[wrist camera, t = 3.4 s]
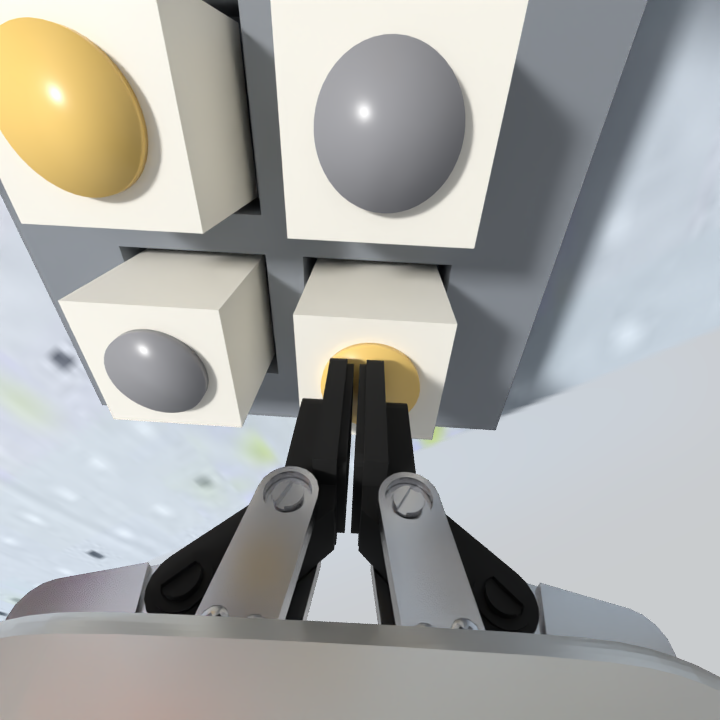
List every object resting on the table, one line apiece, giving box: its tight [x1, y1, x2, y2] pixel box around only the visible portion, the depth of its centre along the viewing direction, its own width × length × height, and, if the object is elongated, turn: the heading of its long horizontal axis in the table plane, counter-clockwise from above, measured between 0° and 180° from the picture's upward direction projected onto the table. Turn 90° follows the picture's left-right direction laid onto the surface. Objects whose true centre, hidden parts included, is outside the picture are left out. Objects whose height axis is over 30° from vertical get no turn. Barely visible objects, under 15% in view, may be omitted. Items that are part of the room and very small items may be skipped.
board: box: [0, 0, 648, 430], centre depth 15 cm, size 20×18×4 cm
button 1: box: [0, 0, 258, 234], centre depth 10 cm, size 5×5×5 cm
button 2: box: [58, 248, 275, 427], centre depth 14 cm, size 5×5×5 cm
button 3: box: [270, 0, 529, 249], centre depth 10 cm, size 5×5×5 cm
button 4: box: [293, 258, 457, 440], centre depth 14 cm, size 5×5×5 cm
